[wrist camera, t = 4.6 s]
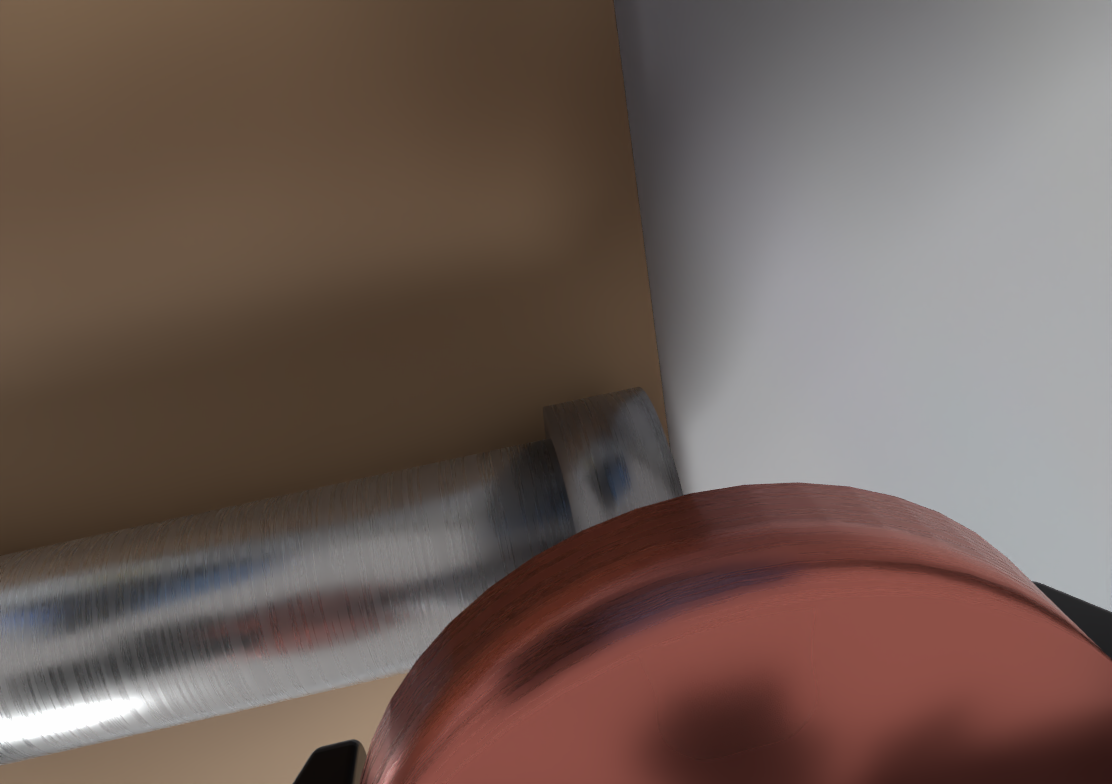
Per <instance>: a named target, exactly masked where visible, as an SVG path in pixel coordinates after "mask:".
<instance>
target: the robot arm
mask: <svg viewBox="0 0 1112 784" xmlns="http://www.w3.org/2000/svg"><path fill="white" fill-rule="evenodd" d="M1032 582H1033V581H1032ZM1033 583H1034V584H1035V585H1036V586H1037V587H1038V588H1039V589H1040V590H1041V591H1042V592H1043V593H1044V594H1045V595H1046V596H1047V597H1048V598H1049V599H1050V600H1051V601H1052V602H1053V603H1054V604H1055V605H1056V606H1057V607H1058V608H1059V609H1060V610H1061V611H1062V612H1063V613H1064V614H1065V615H1067V616H1068V617H1069V618H1070V619H1071V620H1072V621H1073V622H1074V623H1075V624H1076V625H1077V626H1078V627H1079V628H1080V629H1081V630H1082V631H1083V632H1084V633H1085V634H1086V635H1087V636H1088V637H1089V638H1090V639H1091V640H1092V641H1093V642H1094V643H1095V644H1096V645H1097V646H1098V647H1099V648H1100V649H1101V650H1102V651H1103V652H1105V653H1106V654H1107V655H1108V656H1109V657H1110V658H1111V659H1112V612H1110V611H1107V610H1105V609H1103V608H1100V607H1098V606H1095V605H1093V604H1090V603H1088V602H1085V601H1083V600H1081V599H1078V598H1076V597H1073V596H1071V595H1068V594H1066V593H1063V592H1061V591H1058V590H1056V589H1054V588H1051V587H1049V586H1046V585H1044V584H1041V583H1038V582H1033ZM366 757H367V754H366V752H365V749H364V747H363V745H362V744H361V742H360V741H358V740H355V739H351V740H347V741H342V742H338V743H334V744H330V745H325V746H321V747H319V748H317V749H316V750H315V751H314V752H313V753H312V754H311V755H310V757H309V758H308V760H307V761H306V763H305V765H304V766H303V768H302V769H301V771H300V772H299V774H298V776H297V777H296V779H295V780H294V782H293V783H292V784H360V778H361V775H362V771H363V768H364V764H365V761H366Z"/></svg>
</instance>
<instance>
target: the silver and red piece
mask: <svg viewBox="0 0 1112 784" xmlns="http://www.w3.org/2000/svg"><path fill="white" fill-rule="evenodd" d="M543 418H544V426H545V433H546V439H544V440H540V441H535V442H530V443H526V444H521V445H516V446H512V447H507V448H502V449H498V450H493V451H488V452H484V453H479V454H474V455H469V456H465V457H460V458H455V459H451V460H446V461H441V462H437V463H432V464H427V465H423V466H418V467H413V468H409V469H404V470H399V471H395V472H390V473H385V474H381V475H376V476H371V477H367V478H362V479H357V480H353V481H348V482H343V483H339V484H334V485H329V486H325V487H320V488H315V489H310V490H306V491H301V492H296V493H292V494H287V495H282V496H278V497H273V498H268V499H264V500H259V501H254V502H250V503H245V504H240V505H236V506H231V507H226V508H222V509H217V510H212V511H208V512H203V513H198V514H194V515H189V516H184V517H180V518H175V519H170V520H165V521H161V522H156V523H151V524H147V525H142V526H137V527H133V528H128V529H123V530H119V531H114V532H109V533H105V534H100V535H95V536H91V537H86V538H81V539H77V540H72V541H67V542H63V543H58V544H53V545H49V546H44V547H39V548H35V549H30V550H25V551H21V552H16V553H11V554H6V555H2V556H0V766H2V765H6V764H10V763H15V762H19V761H23V760H28V759H32V758H37V757H41V756H45V755H50V754H54V753H59V752H63V751H67V750H72V749H76V748H80V747H85V746H89V745H94V744H98V743H102V742H107V741H111V740H116V739H120V738H124V737H129V736H133V735H137V734H142V733H146V732H151V731H155V730H159V729H164V728H168V727H172V726H177V725H181V724H186V723H190V722H194V721H199V720H203V719H208V718H212V717H216V716H221V715H225V714H229V713H234V712H238V711H243V710H247V709H251V708H256V707H260V706H265V705H269V704H273V703H278V702H282V701H286V700H291V699H295V698H300V697H304V696H308V695H313V694H317V693H321V692H326V691H330V690H335V689H339V688H343V687H348V686H352V685H357V684H361V683H365V682H370V681H374V680H378V679H383V678H387V677H392V676H396V675H400V674H405V673H408V674H407V675H406V677H405V678H404V680H403V681H402V683H401V684H400V686H399V688H398V689H397V691H396V692H395V694H394V695H393V697H392V698H391V700H390V702H389V704H388V706H387V708H386V710H385V712H384V714H383V717H382V719H381V721H380V723H379V725H378V727H377V729H376V731H375V734H374V736H373V738H372V740H371V743H370V747H369V750H368V754H367V757H366V761H365V764H364V768H363V771H362V775H361V778H360V784H1112V659H1111V658H1110V657H1109V656H1108V655H1107V654H1106V653H1105V652H1103V651H1102V650H1101V649H1100V648H1099V647H1098V646H1097V645H1096V644H1095V643H1094V642H1093V641H1092V640H1091V639H1090V638H1089V637H1088V636H1087V635H1086V634H1085V633H1084V632H1083V631H1082V630H1081V629H1080V628H1079V627H1078V626H1077V625H1076V624H1075V623H1074V622H1073V621H1072V620H1071V619H1070V618H1069V617H1068V616H1067V615H1065V614H1064V613H1063V612H1062V611H1061V610H1060V609H1059V608H1058V607H1057V606H1056V605H1055V604H1054V603H1053V602H1052V601H1051V600H1050V599H1049V598H1048V597H1047V596H1046V595H1045V594H1044V593H1043V592H1042V591H1041V590H1040V589H1039V588H1038V587H1037V586H1036V585H1035V584H1034V583H1033V582H1032V581H1031V580H1030V579H1029V578H1027V577H1026V576H1025V575H1024V574H1023V573H1022V572H1021V571H1020V570H1019V569H1018V568H1017V567H1016V566H1015V565H1014V564H1013V563H1012V562H1011V561H1010V560H1009V559H1008V558H1007V557H1006V556H1004V555H1003V554H1002V553H1001V552H999V551H998V550H997V549H996V548H994V547H993V546H992V545H991V544H989V543H988V542H987V541H986V540H984V539H983V538H982V537H981V536H979V535H978V534H977V533H975V532H973V531H972V530H970V529H968V528H966V527H964V526H963V525H961V524H959V523H957V522H955V521H954V520H952V519H950V518H948V517H946V516H945V515H943V514H941V513H939V512H936V511H934V510H931V509H928V508H926V507H923V506H920V505H917V504H915V503H912V502H909V501H907V500H904V499H901V498H898V497H895V496H891V495H886V494H881V493H876V492H872V491H867V490H862V489H858V488H853V487H847V486H835V485H822V484H810V483H777V484H754V485H741V486H735V487H729V488H722V489H716V490H710V491H704V492H698V493H691V494H687V495H684V496H683V493H682V489H681V485H680V482H679V478H678V474H677V471H676V467H675V464H674V461H673V457H672V454H671V451H670V448H669V445H668V442H667V439H666V436H665V433H664V430H663V428H662V425H661V423H660V420H659V417H658V415H657V413H656V411H655V408H654V406H653V404H652V402H651V400H650V398H649V397H648V395H647V394H646V392H645V391H644V390H643V389H642V388H641V387H635V388H630V389H625V390H621V391H616V392H611V393H606V394H602V395H597V396H592V397H588V398H583V399H578V400H573V401H569V402H564V403H559V404H554V405H550V406H545V407H543Z"/></svg>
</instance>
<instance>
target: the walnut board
mask: <svg viewBox="0 0 1112 784" xmlns="http://www.w3.org/2000/svg"><path fill="white" fill-rule="evenodd" d="M635 387H641V388H642V389H643V390H644V391H645V392H646V394H647V395H648V397H649V398H650V400H651V402H652V404H653V406H654V408H655V411H656V413H657V415H658V417H659V420H660V423H661V425H662V428H663V430H664V433H665V436H666V439H667V442H668V445H669V437H668V429H667V421H666V414H665V406H664V398H663V390H662V382H661V374H660V366H659V358H658V350H657V342H656V334H655V326H654V318H653V310H652V302H651V294H650V286H649V279H648V271H647V263H646V255H645V247H644V239H643V231H642V223H641V215H640V207H639V199H638V191H637V183H636V175H635V167H634V159H633V151H632V143H631V136H630V128H629V120H628V112H627V104H626V96H625V88H624V80H623V72H622V64H621V56H620V48H619V40H618V32H617V24H616V16H615V8H614V1H613V0H0V556H2V555H6V554H11V553H16V552H21V551H25V550H30V549H35V548H39V547H44V546H49V545H53V544H58V543H63V542H67V541H72V540H77V539H81V538H86V537H91V536H95V535H100V534H105V533H109V532H114V531H119V530H123V529H128V528H133V527H137V526H142V525H147V524H151V523H156V522H161V521H165V520H170V519H175V518H180V517H184V516H189V515H194V514H198V513H203V512H208V511H212V510H217V509H222V508H226V507H231V506H236V505H240V504H245V503H250V502H254V501H259V500H264V499H268V498H273V497H278V496H282V495H287V494H292V493H296V492H301V491H306V490H310V489H315V488H320V487H325V486H329V485H334V484H339V483H343V482H348V481H353V480H357V479H362V478H367V477H371V476H376V475H381V474H385V473H390V472H395V471H399V470H404V469H409V468H413V467H418V466H423V465H427V464H432V463H437V462H441V461H446V460H451V459H455V458H460V457H465V456H469V455H474V454H479V453H484V452H488V451H493V450H498V449H502V448H507V447H512V446H516V445H521V444H526V443H530V442H535V441H540V440H544V439H546V433H545V426H544V418H543V407H545V406H550V405H554V404H559V403H564V402H569V401H573V400H578V399H583V398H588V397H592V396H597V395H602V394H606V393H611V392H616V391H621V390H625V389H630V388H635ZM669 448H670V445H669ZM407 674H408V673H405V674H400V675H396V676H392V677H387V678H383V679H378V680H374V681H370V682H365V683H361V684H357V685H352V686H348V687H343V688H339V689H335V690H330V691H326V692H321V693H317V694H313V695H308V696H304V697H300V698H295V699H291V700H286V701H282V702H278V703H273V704H269V705H265V706H260V707H256V708H251V709H247V710H243V711H238V712H234V713H229V714H225V715H221V716H216V717H212V718H208V719H203V720H199V721H194V722H190V723H186V724H181V725H177V726H172V727H168V728H164V729H159V730H155V731H151V732H146V733H142V734H137V735H133V736H129V737H124V738H120V739H116V740H111V741H107V742H102V743H98V744H94V745H89V746H85V747H80V748H76V749H72V750H67V751H63V752H59V753H54V754H50V755H45V756H41V757H37V758H32V759H28V760H23V761H19V762H15V763H10V764H6V765H2V766H0V784H292V783H293V782H294V780H295V779H296V777H297V776H298V774H299V772H300V771H301V769H302V768H303V766H304V765H305V763H306V761H307V760H308V758H309V757H310V755H311V754H312V753H313V752H314V751H315V750H316V749H317V748H319V747H321V746H325V745H330V744H334V743H338V742H342V741H347V740H351V739H355V740H358V741H360V742H361V744H362V745H363V747H364V749H365V752H366V754H368V750H369V747H370V743H371V740H372V738H373V736H374V734H375V731H376V729H377V727H378V725H379V723H380V721H381V719H382V717H383V714H384V712H385V710H386V708H387V706H388V704H389V702H390V700H391V698H392V697H393V695H394V694H395V692H396V691H397V689H398V688H399V686H400V684H401V683H402V681H403V680H404V678H405V677H406V675H407Z"/></svg>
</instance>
